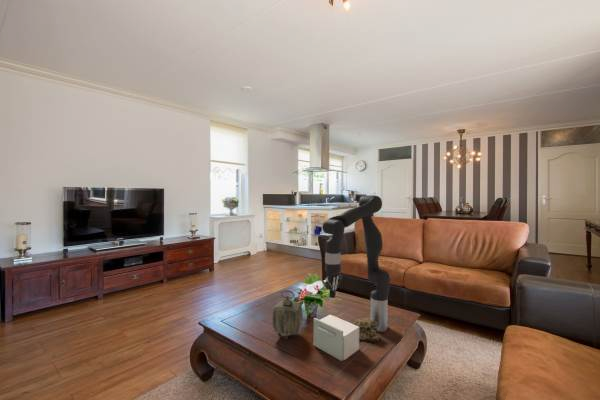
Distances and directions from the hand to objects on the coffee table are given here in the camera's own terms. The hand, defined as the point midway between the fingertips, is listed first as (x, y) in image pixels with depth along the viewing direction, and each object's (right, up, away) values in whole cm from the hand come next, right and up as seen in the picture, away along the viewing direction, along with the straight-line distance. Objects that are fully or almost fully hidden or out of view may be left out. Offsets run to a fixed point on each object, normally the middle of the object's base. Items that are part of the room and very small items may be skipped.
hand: (332, 297), depth 131 cm
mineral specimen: (+18, -26, +13) cm, 35 cm away
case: (+2, -26, +4) cm, 27 cm away
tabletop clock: (-22, -26, +13) cm, 37 cm away
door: (-3, -26, -1) cm, 26 cm away
